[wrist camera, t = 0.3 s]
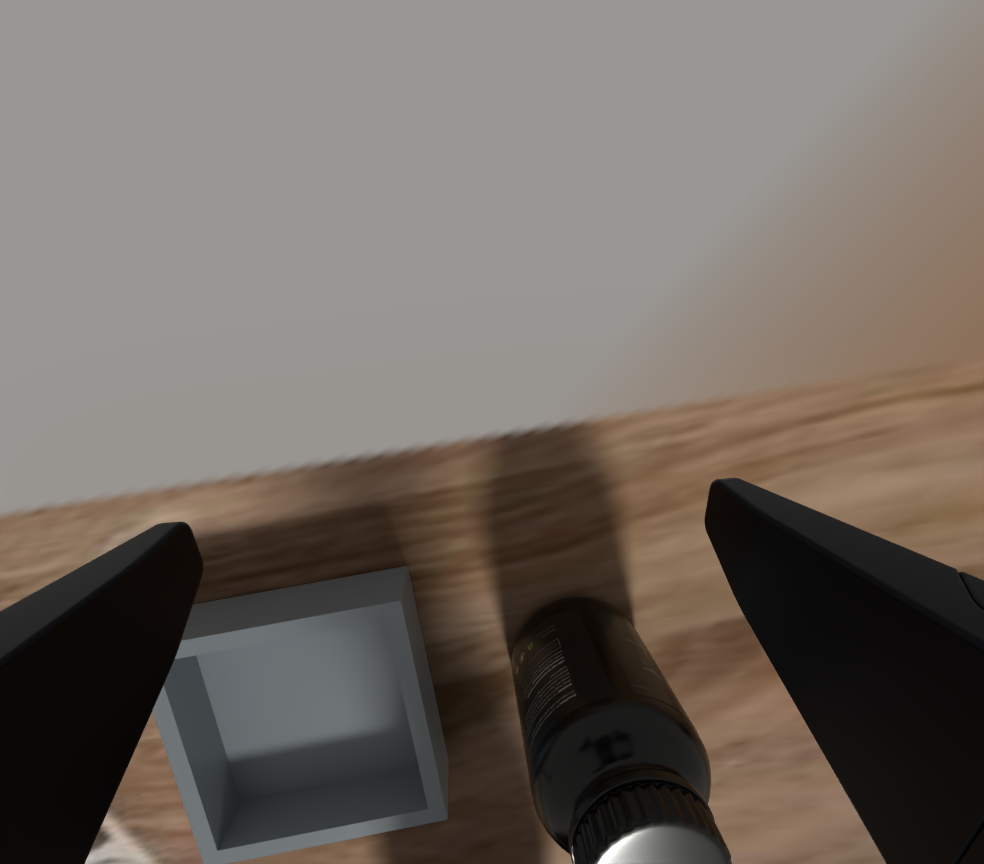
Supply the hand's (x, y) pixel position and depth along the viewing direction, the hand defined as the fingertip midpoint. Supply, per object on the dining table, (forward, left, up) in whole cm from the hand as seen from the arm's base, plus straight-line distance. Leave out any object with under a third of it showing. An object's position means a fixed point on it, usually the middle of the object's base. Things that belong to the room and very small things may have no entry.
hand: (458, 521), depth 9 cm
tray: (-16, -3, -16) cm, 23 cm away
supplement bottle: (-7, -13, -16) cm, 22 cm away
